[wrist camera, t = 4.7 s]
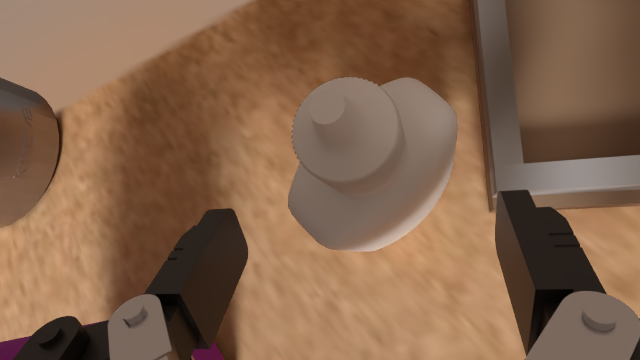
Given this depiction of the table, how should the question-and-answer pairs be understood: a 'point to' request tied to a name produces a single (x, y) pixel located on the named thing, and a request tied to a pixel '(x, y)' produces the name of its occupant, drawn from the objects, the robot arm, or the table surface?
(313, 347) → the table surface
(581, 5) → the grey square tray
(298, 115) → the eye dropper bottle
